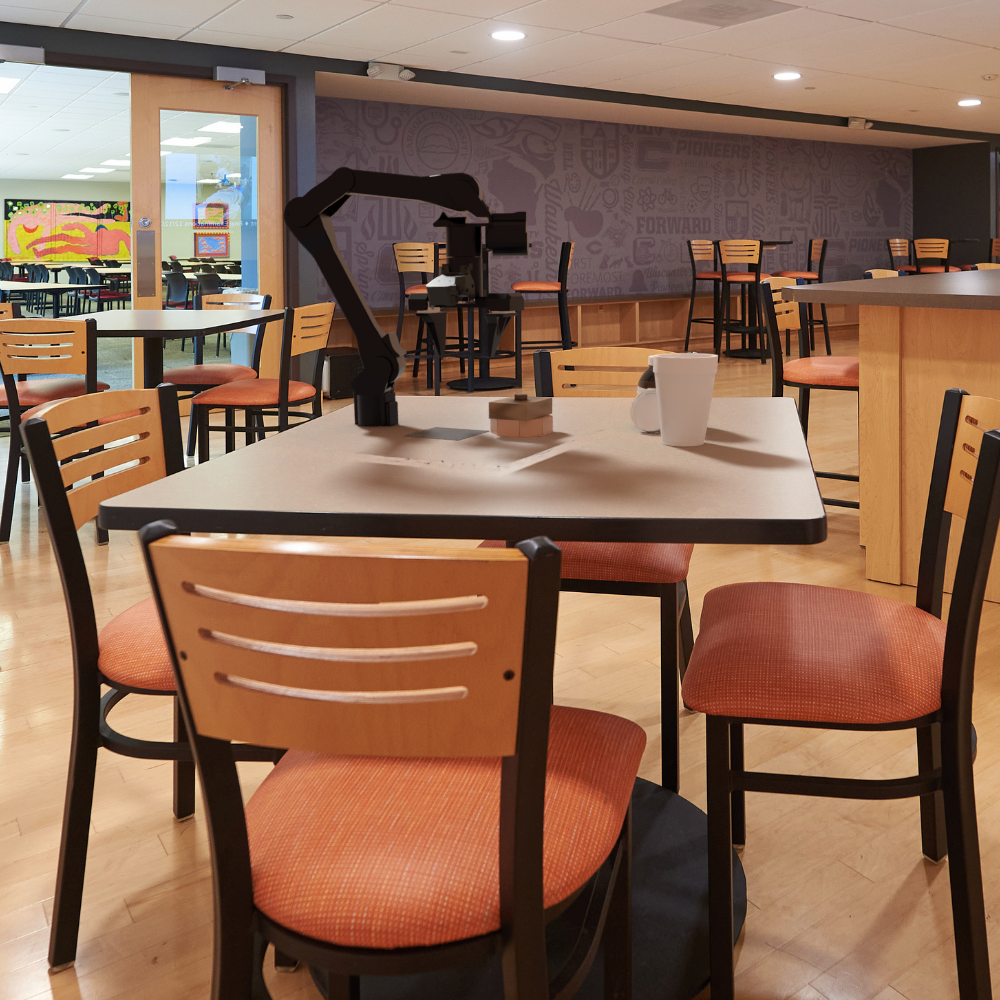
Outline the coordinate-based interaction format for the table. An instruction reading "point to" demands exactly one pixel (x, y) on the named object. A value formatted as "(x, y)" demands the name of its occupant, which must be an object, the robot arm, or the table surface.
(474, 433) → the mat
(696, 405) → the foam cup
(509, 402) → the lid
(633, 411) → the spread jar
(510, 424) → the bowl
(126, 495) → the table surface
